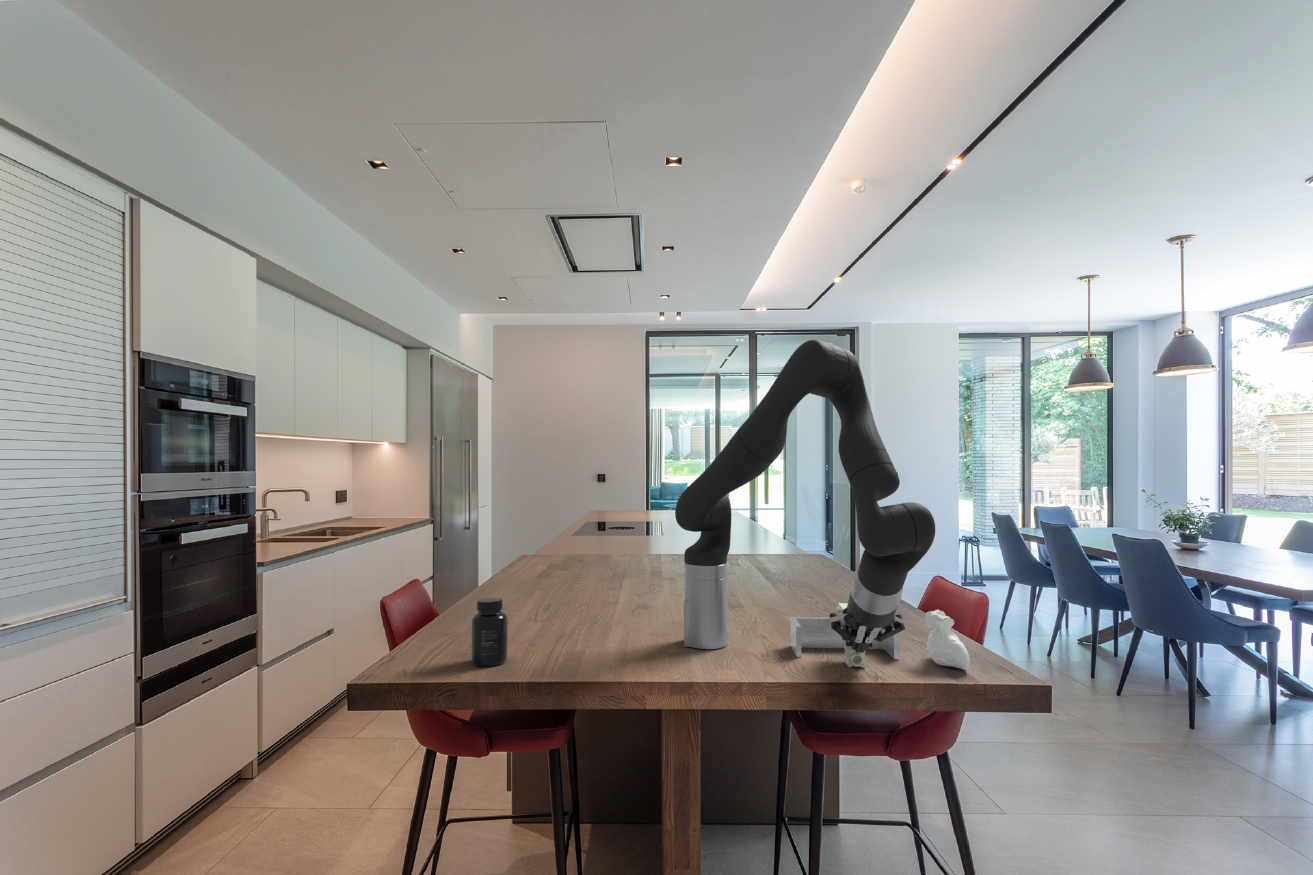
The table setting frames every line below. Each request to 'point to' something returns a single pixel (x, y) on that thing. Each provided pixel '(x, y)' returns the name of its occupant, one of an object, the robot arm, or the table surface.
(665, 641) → the table surface
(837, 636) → the cradle
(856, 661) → the pneumatic valve
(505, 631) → the supplement bottle
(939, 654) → the bust
